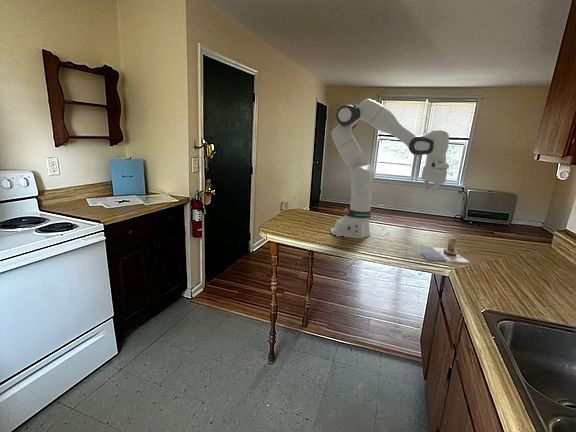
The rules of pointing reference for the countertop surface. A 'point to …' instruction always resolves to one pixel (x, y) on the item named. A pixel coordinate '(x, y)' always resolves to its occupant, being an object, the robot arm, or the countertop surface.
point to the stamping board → (438, 255)
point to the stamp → (451, 247)
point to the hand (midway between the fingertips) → (430, 190)
